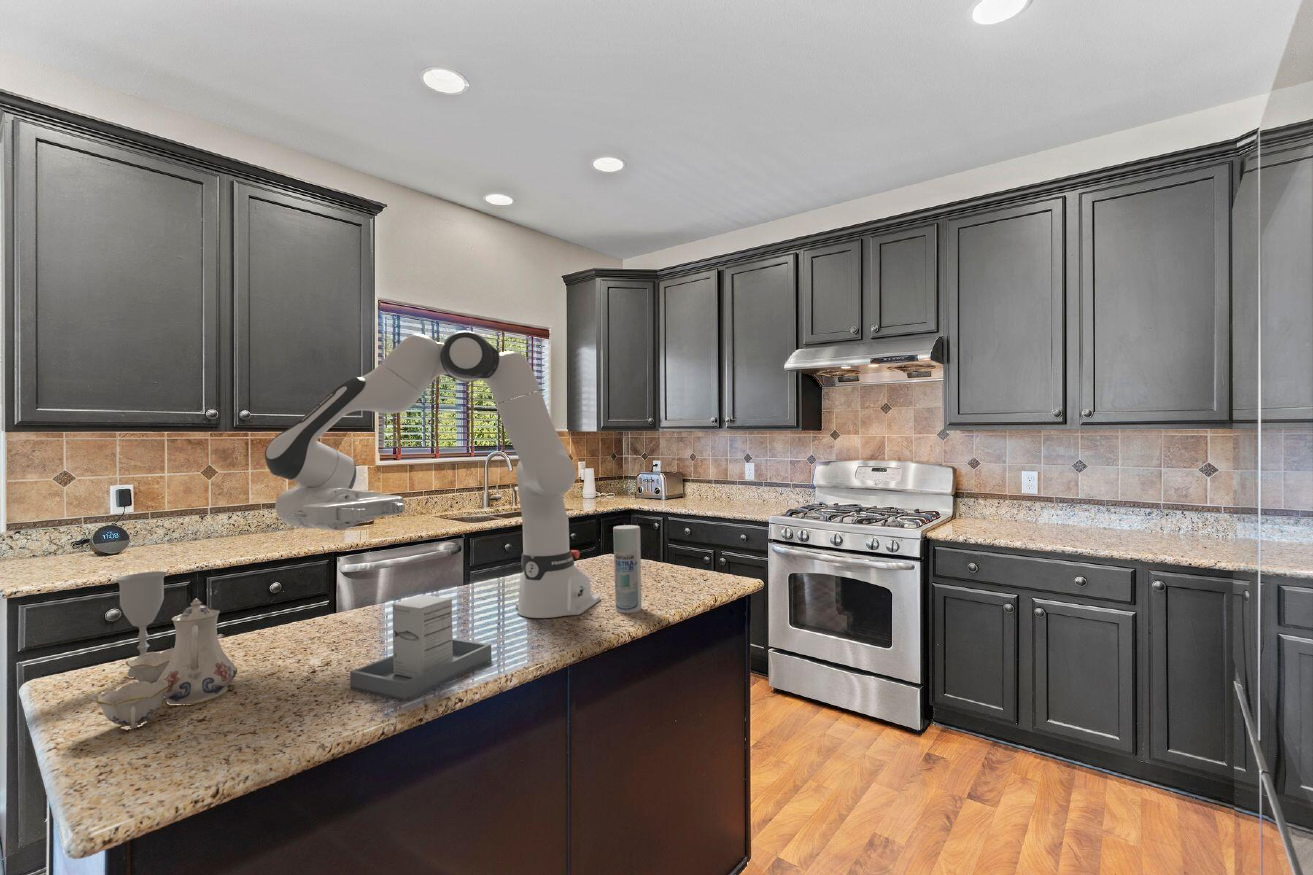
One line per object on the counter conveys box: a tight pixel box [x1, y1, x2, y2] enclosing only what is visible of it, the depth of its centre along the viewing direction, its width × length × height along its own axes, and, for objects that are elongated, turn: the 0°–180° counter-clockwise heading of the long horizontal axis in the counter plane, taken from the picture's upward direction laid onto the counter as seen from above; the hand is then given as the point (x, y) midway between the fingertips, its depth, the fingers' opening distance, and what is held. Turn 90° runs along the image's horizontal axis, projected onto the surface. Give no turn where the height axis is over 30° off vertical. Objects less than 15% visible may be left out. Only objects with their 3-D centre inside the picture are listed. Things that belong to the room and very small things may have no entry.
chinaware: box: [95, 598, 238, 730], centre depth 101 cm, size 28×17×17 cm, turn 35°
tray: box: [349, 637, 493, 703], centre depth 109 cm, size 20×13×3 cm, turn 154°
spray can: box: [612, 524, 642, 614], centre depth 148 cm, size 6×6×20 cm
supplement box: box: [392, 594, 453, 678], centre depth 109 cm, size 7×7×13 cm
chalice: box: [115, 571, 168, 677], centre depth 113 cm, size 7×7×18 cm
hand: (382, 510), depth 122 cm, fingers open, 8 cm apart
